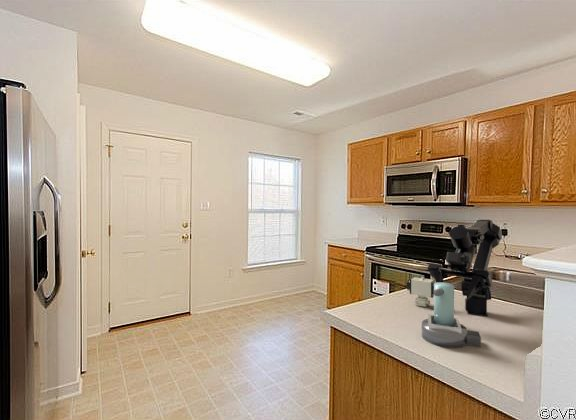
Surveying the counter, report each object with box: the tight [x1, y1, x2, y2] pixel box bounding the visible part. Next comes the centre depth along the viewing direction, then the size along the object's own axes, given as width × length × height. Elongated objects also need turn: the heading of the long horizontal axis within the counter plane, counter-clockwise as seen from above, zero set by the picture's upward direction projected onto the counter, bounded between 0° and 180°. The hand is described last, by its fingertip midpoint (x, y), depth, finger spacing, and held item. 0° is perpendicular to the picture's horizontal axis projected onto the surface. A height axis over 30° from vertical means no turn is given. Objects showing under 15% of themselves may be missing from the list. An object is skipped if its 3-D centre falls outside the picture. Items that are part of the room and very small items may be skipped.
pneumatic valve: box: [406, 276, 436, 308], centre depth 125 cm, size 6×12×12 cm, turn 51°
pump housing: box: [433, 281, 455, 327], centre depth 93 cm, size 8×6×13 cm
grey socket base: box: [421, 314, 482, 349], centre depth 94 cm, size 16×13×6 cm
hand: (451, 295), depth 99 cm, fingers open, 9 cm apart
